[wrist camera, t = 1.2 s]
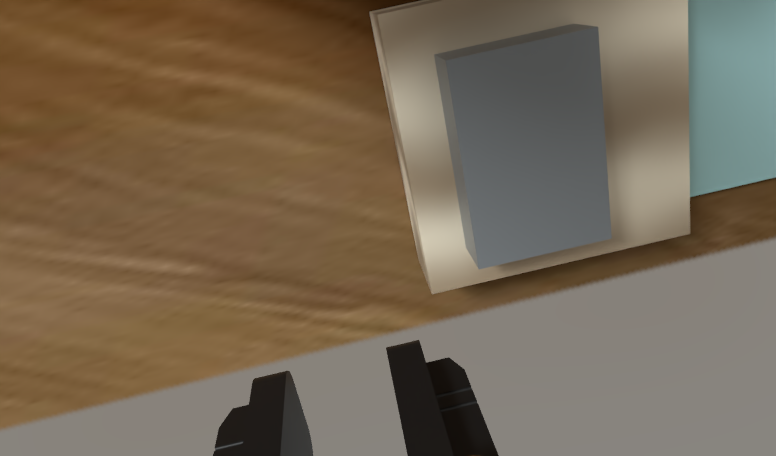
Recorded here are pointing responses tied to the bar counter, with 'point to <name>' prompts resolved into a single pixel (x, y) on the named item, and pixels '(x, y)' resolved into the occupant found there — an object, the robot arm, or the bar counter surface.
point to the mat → (731, 93)
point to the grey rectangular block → (527, 143)
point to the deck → (620, 104)
